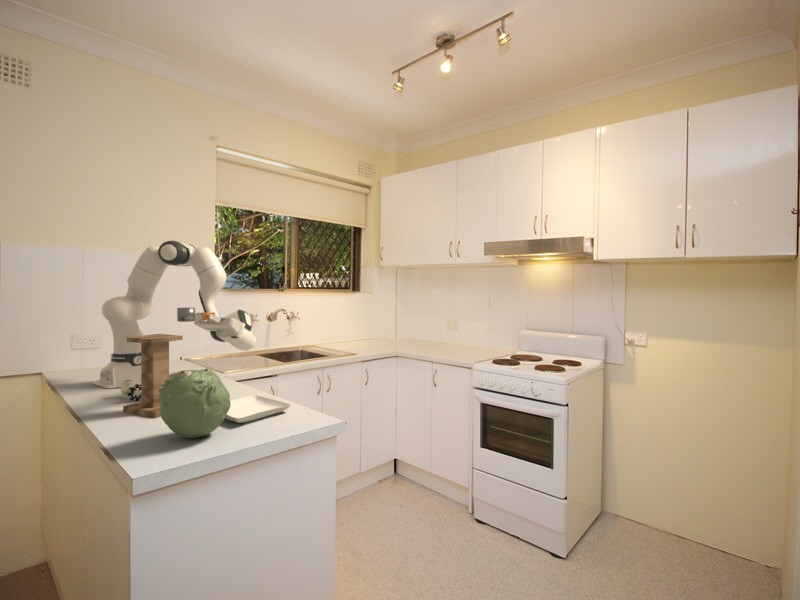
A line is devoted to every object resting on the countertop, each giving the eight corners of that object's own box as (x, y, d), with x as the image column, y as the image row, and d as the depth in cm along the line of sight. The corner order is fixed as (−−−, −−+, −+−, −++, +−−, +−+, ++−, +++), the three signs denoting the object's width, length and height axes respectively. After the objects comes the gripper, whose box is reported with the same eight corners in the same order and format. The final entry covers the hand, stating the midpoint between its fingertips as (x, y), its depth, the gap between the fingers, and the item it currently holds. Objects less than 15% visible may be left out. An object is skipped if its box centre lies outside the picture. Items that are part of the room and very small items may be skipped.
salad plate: (255, 402, 155) (255, 393, 155) (292, 412, 143) (292, 403, 143) (201, 416, 138) (201, 406, 138) (237, 429, 126) (237, 418, 126)
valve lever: (173, 321, 153) (173, 307, 152) (206, 318, 167) (206, 306, 166) (185, 321, 150) (185, 308, 150) (217, 319, 164) (217, 306, 164)
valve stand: (123, 411, 141) (122, 336, 140) (155, 403, 152) (155, 333, 151) (155, 417, 135) (155, 339, 134) (186, 408, 146) (186, 335, 145)
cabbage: (238, 436, 119) (238, 368, 118) (165, 453, 106) (165, 377, 106) (220, 422, 131) (220, 360, 130) (153, 436, 118) (152, 367, 118)
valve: (115, 398, 159) (127, 403, 151) (115, 381, 158) (127, 385, 151) (134, 394, 164) (147, 399, 157) (134, 378, 164) (147, 382, 157)
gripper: (211, 322, 178) (188, 307, 167) (248, 324, 171) (226, 308, 159) (206, 335, 176) (181, 321, 164) (243, 338, 168) (220, 323, 157)
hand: (204, 315), depth 162 cm, fingers closed on valve lever, 3 cm apart
